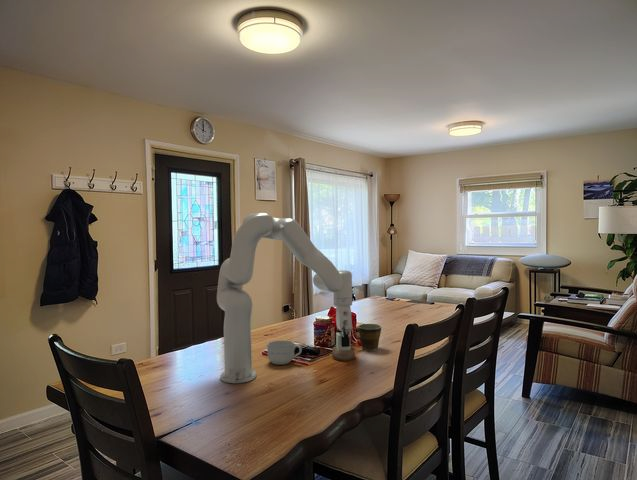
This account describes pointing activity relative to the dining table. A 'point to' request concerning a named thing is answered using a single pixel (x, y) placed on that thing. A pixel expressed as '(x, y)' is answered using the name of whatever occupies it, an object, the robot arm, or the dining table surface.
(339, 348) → the sage block
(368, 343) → the ceramic cup
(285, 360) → the teacup
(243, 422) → the dining table surface
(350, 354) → the brown round dish
